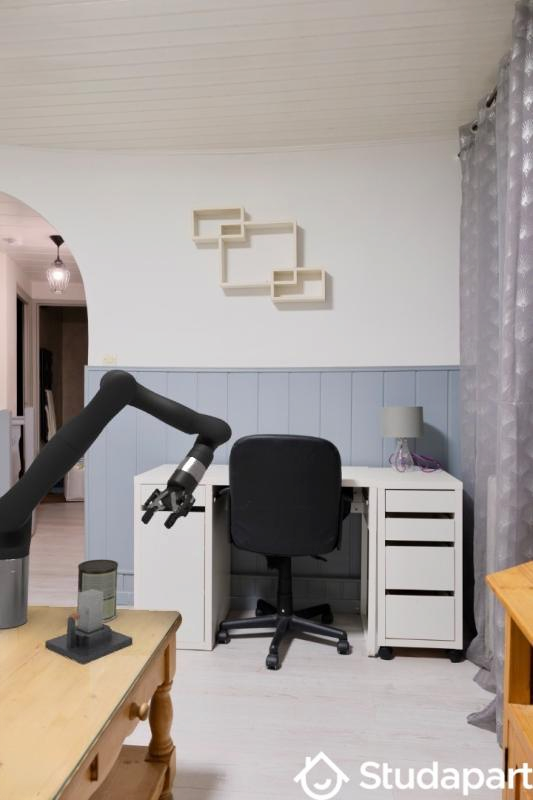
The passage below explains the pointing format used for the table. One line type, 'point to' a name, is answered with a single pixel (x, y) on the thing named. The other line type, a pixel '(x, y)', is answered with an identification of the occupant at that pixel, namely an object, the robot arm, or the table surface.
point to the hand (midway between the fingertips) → (154, 524)
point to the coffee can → (100, 583)
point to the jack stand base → (87, 642)
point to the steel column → (90, 611)
